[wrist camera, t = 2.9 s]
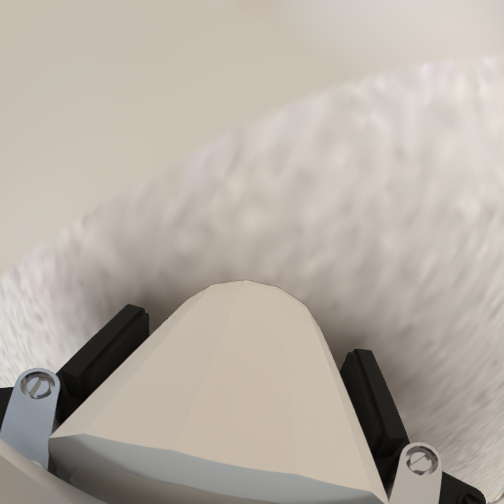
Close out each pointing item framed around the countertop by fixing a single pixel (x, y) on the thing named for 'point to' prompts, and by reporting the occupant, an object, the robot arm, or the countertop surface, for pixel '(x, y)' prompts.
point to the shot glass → (223, 412)
